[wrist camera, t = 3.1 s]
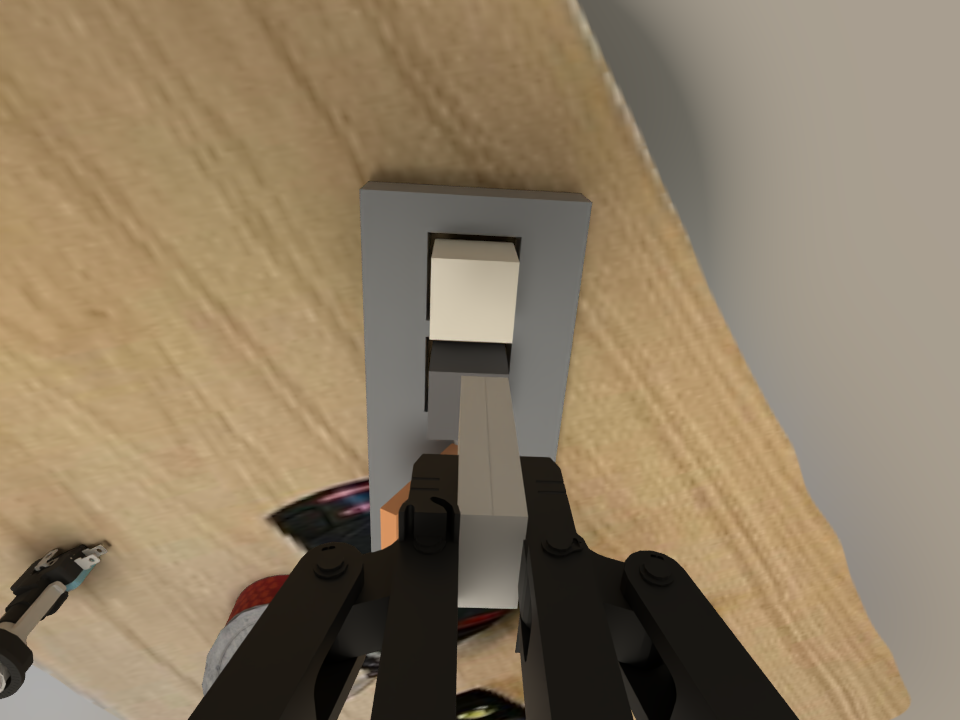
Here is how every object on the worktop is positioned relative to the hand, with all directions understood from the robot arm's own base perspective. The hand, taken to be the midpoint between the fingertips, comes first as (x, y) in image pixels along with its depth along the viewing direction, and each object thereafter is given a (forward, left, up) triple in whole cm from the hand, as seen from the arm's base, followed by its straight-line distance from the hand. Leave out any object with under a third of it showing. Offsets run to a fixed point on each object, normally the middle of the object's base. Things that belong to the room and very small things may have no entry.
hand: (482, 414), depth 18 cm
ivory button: (0, 0, -14) cm, 14 cm away
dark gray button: (+6, 0, -14) cm, 15 cm away
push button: (+24, -29, -17) cm, 42 cm away
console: (+8, 0, -17) cm, 19 cm away
